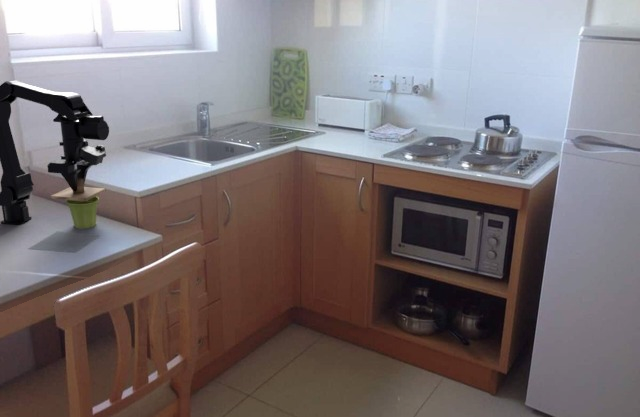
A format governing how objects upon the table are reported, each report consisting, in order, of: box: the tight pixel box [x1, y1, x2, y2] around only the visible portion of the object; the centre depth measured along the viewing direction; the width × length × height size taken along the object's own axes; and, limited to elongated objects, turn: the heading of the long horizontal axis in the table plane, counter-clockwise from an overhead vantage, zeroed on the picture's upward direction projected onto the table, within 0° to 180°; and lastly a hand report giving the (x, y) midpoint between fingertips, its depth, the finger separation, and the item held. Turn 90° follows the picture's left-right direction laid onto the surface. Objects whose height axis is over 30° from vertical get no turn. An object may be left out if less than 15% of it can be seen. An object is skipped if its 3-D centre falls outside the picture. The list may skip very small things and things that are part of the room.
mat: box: [27, 231, 102, 254], centre depth 164 cm, size 14×14×1 cm
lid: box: [50, 178, 106, 201], centre depth 172 cm, size 11×11×5 cm
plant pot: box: [65, 195, 100, 230], centre depth 176 cm, size 9×9×9 cm
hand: (78, 189), depth 172 cm, fingers closed on lid, 3 cm apart
